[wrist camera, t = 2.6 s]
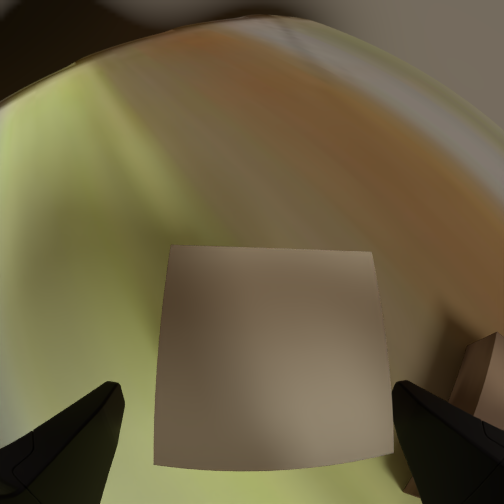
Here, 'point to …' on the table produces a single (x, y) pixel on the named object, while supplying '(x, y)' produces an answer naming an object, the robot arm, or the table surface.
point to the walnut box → (479, 386)
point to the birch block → (271, 360)
